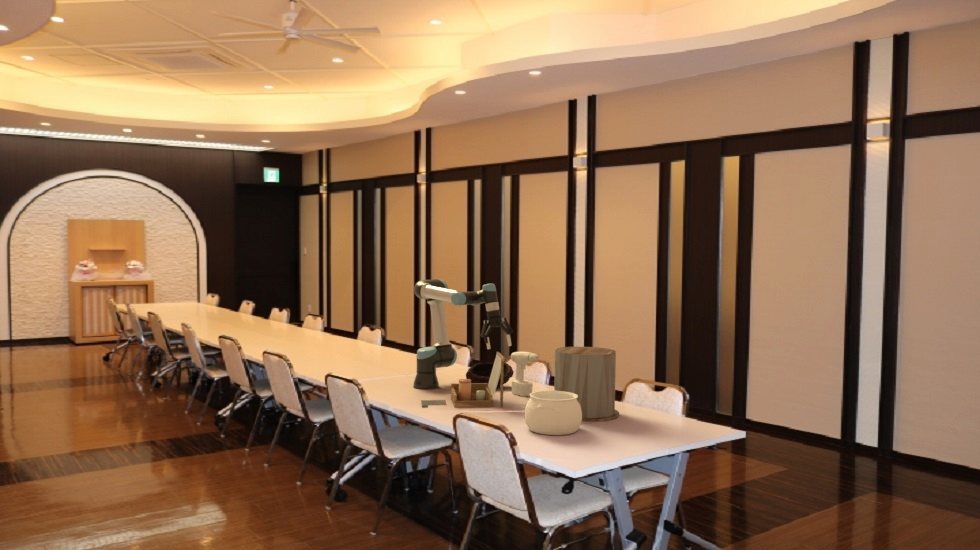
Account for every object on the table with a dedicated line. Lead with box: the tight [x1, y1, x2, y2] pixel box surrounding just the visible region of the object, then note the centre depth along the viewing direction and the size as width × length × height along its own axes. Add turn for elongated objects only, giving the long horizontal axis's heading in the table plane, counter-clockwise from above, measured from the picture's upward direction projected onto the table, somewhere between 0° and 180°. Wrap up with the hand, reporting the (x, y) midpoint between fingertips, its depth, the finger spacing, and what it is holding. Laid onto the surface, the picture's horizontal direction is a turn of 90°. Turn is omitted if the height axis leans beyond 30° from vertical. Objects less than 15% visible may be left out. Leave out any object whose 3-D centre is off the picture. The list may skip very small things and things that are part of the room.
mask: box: [465, 361, 514, 388], centre depth 448 cm, size 18×14×30 cm
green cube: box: [476, 390, 485, 401], centre depth 398 cm, size 5×5×6 cm
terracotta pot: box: [458, 378, 471, 401], centre depth 397 cm, size 7×7×12 cm
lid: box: [488, 351, 506, 395], centre depth 399 cm, size 23×20×1 cm
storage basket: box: [553, 346, 620, 423], centre depth 377 cm, size 35×35×32 cm
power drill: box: [510, 351, 540, 397], centre depth 424 cm, size 8×24×25 cm, turn 31°
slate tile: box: [420, 399, 448, 408], centre depth 395 cm, size 13×13×1 cm
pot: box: [524, 390, 582, 436], centre depth 343 cm, size 29×26×16 cm
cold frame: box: [450, 359, 505, 409], centre depth 396 cm, size 26×25×26 cm
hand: (499, 347), depth 420 cm, fingers open, 13 cm apart
